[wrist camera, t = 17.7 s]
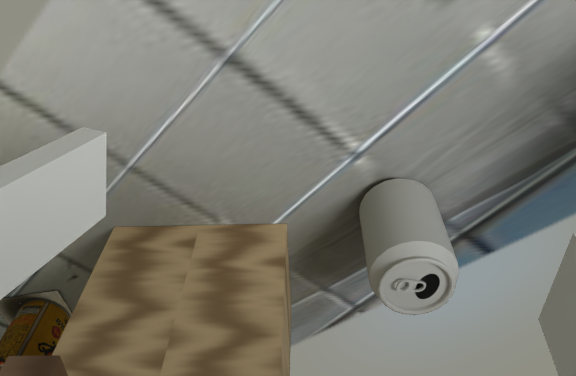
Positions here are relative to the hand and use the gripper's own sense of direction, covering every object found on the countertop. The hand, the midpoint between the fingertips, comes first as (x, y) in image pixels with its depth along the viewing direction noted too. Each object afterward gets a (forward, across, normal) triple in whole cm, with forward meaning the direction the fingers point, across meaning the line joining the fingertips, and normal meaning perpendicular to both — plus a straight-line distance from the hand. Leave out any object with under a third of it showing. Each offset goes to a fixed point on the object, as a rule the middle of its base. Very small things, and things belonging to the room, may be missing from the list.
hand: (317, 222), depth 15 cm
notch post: (+35, -14, -26) cm, 45 cm away
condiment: (+32, -33, -36) cm, 59 cm away
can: (+37, +4, -15) cm, 40 cm away
